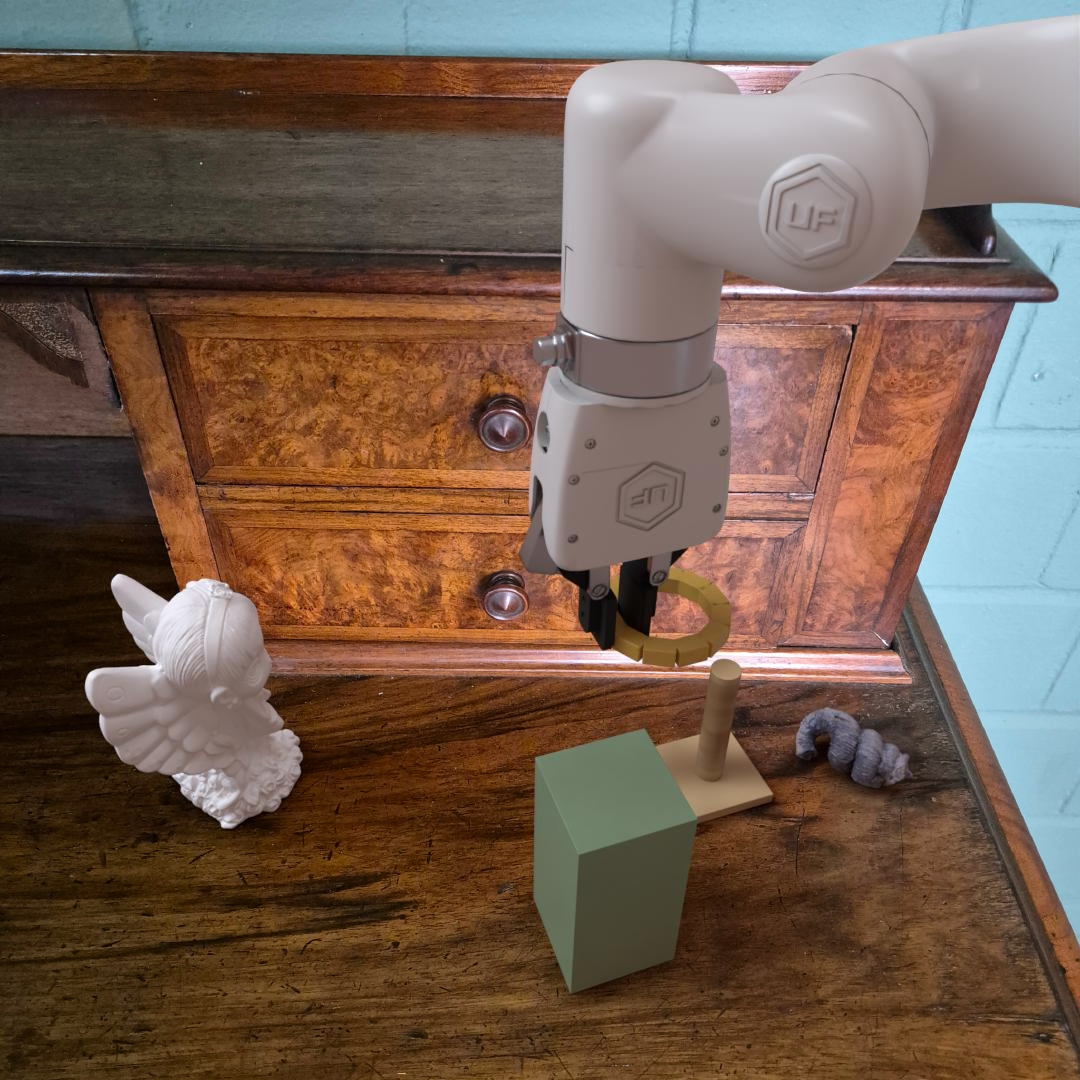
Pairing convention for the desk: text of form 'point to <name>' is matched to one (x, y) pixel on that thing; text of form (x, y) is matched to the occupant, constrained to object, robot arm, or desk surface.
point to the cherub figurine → (198, 700)
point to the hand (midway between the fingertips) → (615, 629)
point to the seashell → (853, 748)
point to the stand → (610, 857)
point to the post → (716, 755)
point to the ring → (685, 647)
